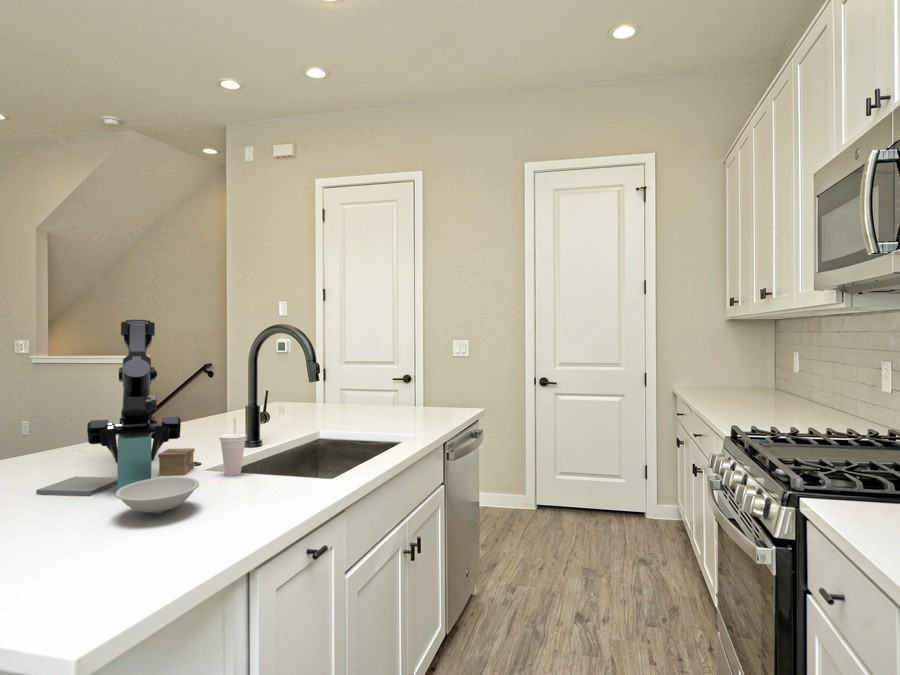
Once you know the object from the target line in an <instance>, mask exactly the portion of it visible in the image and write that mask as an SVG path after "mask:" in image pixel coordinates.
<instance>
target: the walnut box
mask: <svg viewBox="0 0 900 675" xmlns="http://www.w3.org/2000/svg"><path fill="white" fill-rule="evenodd" d="M194 453H195V448H194V447H193V448H192V447H191V448H190V447H189V448H183V447H182V448H167V449H165V450H164V451H162V452H160V453H157V458H158V475H159V476H185V475H187V474H188V473H190V470H191V469H192V470H193V469H194ZM192 470H191V471H192ZM187 472H188V473H187ZM184 474H185V475H184Z"/></svg>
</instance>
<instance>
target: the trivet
mask: <svg viewBox="0 0 900 675" xmlns="http://www.w3.org/2000/svg"><path fill="white" fill-rule="evenodd" d="M112 486H113V487H115V486H117V477H112V476H111V477H109V476H108V477H107V476H103V477H101V476H99V477H98V476H73V477H72V476H71V477H69V478H67V479H64V480H60V481H58V482H55V483H52V484H50V485H47V486H44V487H40V488H38V489H36V491H35V493H36V494H46V495H45V496H73V495H76V496H79V495H80V496H81V497H91V496H92V495H95V493H96V494H98V493H101V492H102V490H103V491H105V490H107V488H108V489H110V488H112ZM104 489H105V490H104ZM97 492H98V493H97ZM90 495H91V496H90ZM80 496H79V497H80Z"/></svg>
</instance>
